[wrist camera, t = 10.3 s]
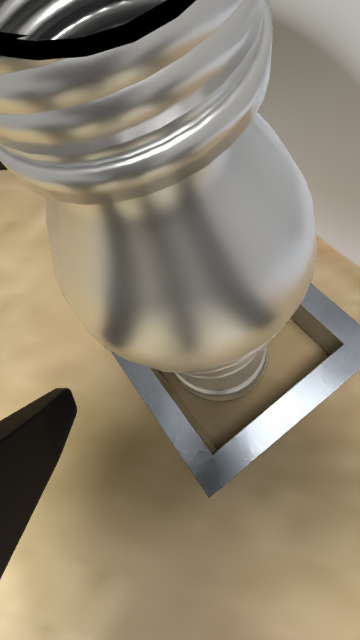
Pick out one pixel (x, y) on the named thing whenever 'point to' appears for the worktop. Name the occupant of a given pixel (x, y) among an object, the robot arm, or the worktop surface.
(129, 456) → the worktop surface
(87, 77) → the plastic bottle
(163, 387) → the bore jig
